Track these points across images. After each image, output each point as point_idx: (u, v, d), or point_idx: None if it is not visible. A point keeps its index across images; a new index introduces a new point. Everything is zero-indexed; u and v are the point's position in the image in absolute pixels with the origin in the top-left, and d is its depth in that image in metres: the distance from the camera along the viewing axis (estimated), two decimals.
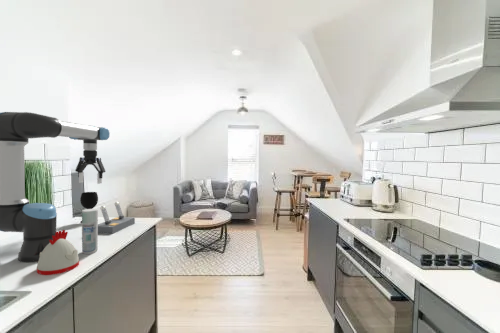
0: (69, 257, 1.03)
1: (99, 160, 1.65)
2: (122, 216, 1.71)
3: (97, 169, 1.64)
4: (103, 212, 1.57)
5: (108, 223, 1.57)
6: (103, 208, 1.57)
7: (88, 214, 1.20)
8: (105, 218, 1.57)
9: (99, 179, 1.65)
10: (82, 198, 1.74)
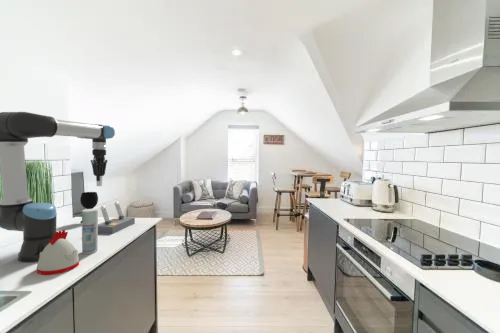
0: (69, 257, 1.03)
1: (92, 163, 1.59)
2: (122, 216, 1.71)
3: None
4: (103, 212, 1.57)
5: (108, 223, 1.57)
6: (103, 208, 1.57)
7: (88, 214, 1.20)
8: (105, 218, 1.57)
9: (97, 182, 1.64)
10: (82, 198, 1.74)
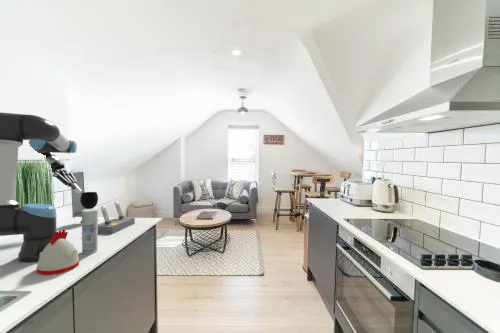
0: (69, 257, 1.03)
1: (56, 175, 1.54)
2: (122, 216, 1.71)
3: None
4: (103, 212, 1.57)
5: (108, 223, 1.57)
6: (103, 208, 1.57)
7: (88, 214, 1.20)
8: (105, 218, 1.57)
9: (75, 189, 1.58)
10: (82, 198, 1.74)
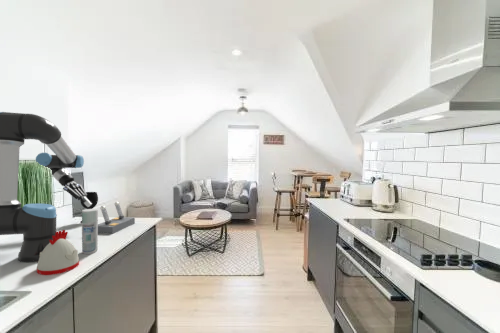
0: (69, 257, 1.03)
1: (66, 189, 1.54)
2: (122, 216, 1.71)
3: None
4: (103, 212, 1.57)
5: (108, 223, 1.57)
6: (103, 208, 1.57)
7: (88, 214, 1.20)
8: (105, 218, 1.57)
9: (85, 203, 1.58)
10: None
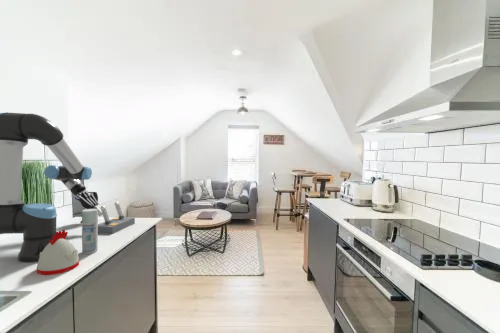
0: (69, 257, 1.03)
1: (78, 198, 1.53)
2: (122, 216, 1.71)
3: None
4: (103, 212, 1.57)
5: (108, 223, 1.57)
6: (103, 208, 1.57)
7: (88, 214, 1.20)
8: (105, 218, 1.57)
9: None
10: None
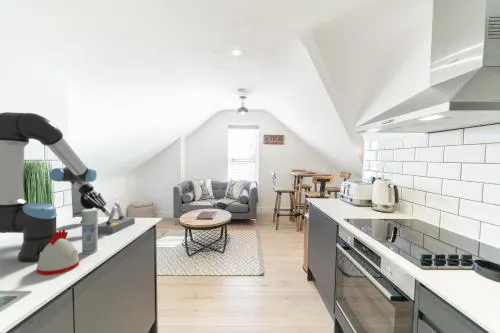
0: (69, 257, 1.03)
1: (86, 199, 1.53)
2: (122, 216, 1.71)
3: None
4: (112, 213, 1.56)
5: None
6: (114, 210, 1.56)
7: (88, 214, 1.20)
8: (109, 218, 1.57)
9: (105, 212, 1.57)
10: (82, 198, 1.74)
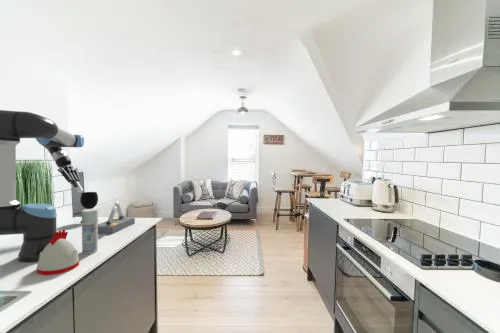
0: (69, 257, 1.03)
1: (60, 171, 1.51)
2: (122, 216, 1.71)
3: None
4: (112, 213, 1.56)
5: None
6: (114, 210, 1.56)
7: (88, 214, 1.20)
8: (109, 218, 1.57)
9: (77, 188, 1.55)
10: (82, 198, 1.74)
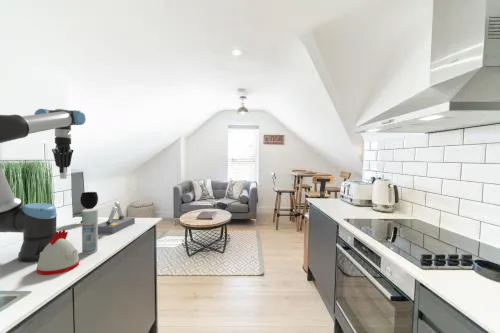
0: (69, 257, 1.03)
1: (54, 152, 1.42)
2: (122, 216, 1.71)
3: None
4: (112, 213, 1.56)
5: None
6: (114, 210, 1.56)
7: (88, 214, 1.20)
8: (109, 218, 1.57)
9: (61, 174, 1.47)
10: (82, 198, 1.74)
